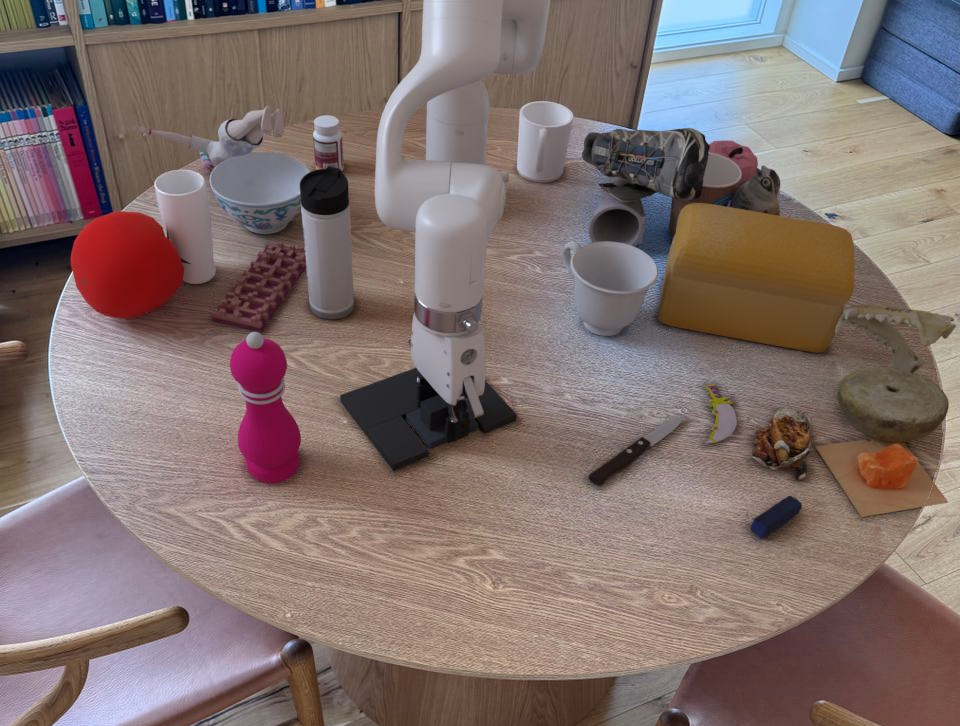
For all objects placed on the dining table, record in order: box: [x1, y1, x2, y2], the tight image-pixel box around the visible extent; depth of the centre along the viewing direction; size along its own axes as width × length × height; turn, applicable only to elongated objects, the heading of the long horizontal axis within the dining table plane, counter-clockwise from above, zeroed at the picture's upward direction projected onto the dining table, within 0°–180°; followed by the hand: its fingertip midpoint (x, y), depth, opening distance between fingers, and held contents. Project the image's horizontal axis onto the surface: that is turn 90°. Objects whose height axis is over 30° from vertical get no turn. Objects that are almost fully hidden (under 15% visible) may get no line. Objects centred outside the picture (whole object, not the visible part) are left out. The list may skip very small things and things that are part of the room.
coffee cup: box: [668, 152, 742, 241], centre depth 147 cm, size 10×10×12 cm
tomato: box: [70, 210, 191, 320], centre depth 127 cm, size 16×14×14 cm
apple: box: [708, 140, 759, 201], centre depth 157 cm, size 10×9×10 cm
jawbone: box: [835, 303, 957, 374], centre depth 127 cm, size 12×13×8 cm
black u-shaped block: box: [339, 367, 518, 472], centre depth 120 cm, size 18×14×1 cm
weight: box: [836, 365, 950, 443], centre depth 123 cm, size 14×13×5 cm
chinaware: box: [209, 151, 311, 235], centre depth 144 cm, size 15×15×8 cm
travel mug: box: [300, 166, 355, 320], centre depth 126 cm, size 6×7×20 cm
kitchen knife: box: [588, 414, 686, 487], centre depth 118 cm, size 18×1×2 cm
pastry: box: [751, 407, 812, 481], centre depth 119 cm, size 7×12×4 cm, turn 163°
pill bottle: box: [312, 114, 344, 172], centre depth 156 cm, size 5×5×8 cm
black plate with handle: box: [405, 395, 479, 450], centre depth 116 cm, size 7×6×4 cm
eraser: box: [750, 495, 803, 539], centre depth 111 cm, size 2×2×7 cm
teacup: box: [561, 240, 659, 337], centre depth 132 cm, size 12×15×10 cm
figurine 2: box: [729, 165, 781, 216], centre depth 145 cm, size 9×19×10 cm
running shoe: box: [581, 127, 710, 211], centre depth 141 cm, size 12×28×12 cm
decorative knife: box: [704, 383, 737, 444], centre depth 123 cm, size 12×1×5 cm
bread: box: [657, 203, 855, 354], centre depth 133 cm, size 24×13×15 cm, turn 78°
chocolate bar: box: [210, 240, 307, 333], centre depth 135 cm, size 7×19×2 cm, turn 164°
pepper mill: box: [229, 331, 302, 484], centre depth 105 cm, size 7×7×20 cm
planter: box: [588, 177, 647, 247], centre depth 154 cm, size 8×9×26 cm
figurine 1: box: [131, 105, 285, 174], centre depth 143 cm, size 29×6×30 cm
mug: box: [516, 100, 574, 184], centre depth 158 cm, size 11×9×10 cm
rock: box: [815, 437, 949, 518], centre depth 116 cm, size 12×12×4 cm
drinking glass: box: [153, 169, 217, 285], centre depth 131 cm, size 7×7×15 cm
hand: (442, 420), depth 117 cm, fingers closed on black plate with handle, 6 cm apart
